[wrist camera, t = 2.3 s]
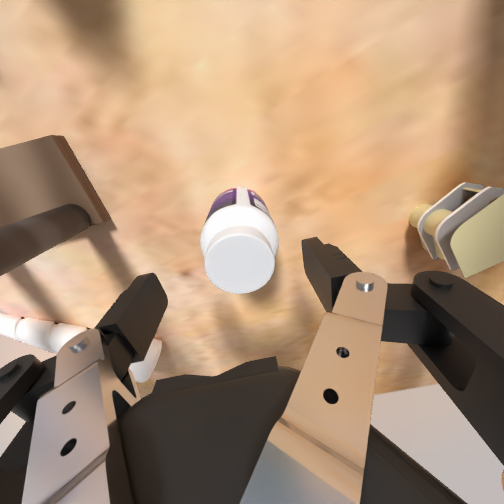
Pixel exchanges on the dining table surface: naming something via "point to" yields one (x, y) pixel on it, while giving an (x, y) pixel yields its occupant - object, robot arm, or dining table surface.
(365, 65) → the dining table surface
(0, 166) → the green-topped post stand
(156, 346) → the unicorn horn
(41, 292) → the dining table surface
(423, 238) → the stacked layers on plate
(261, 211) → the pill bottle
